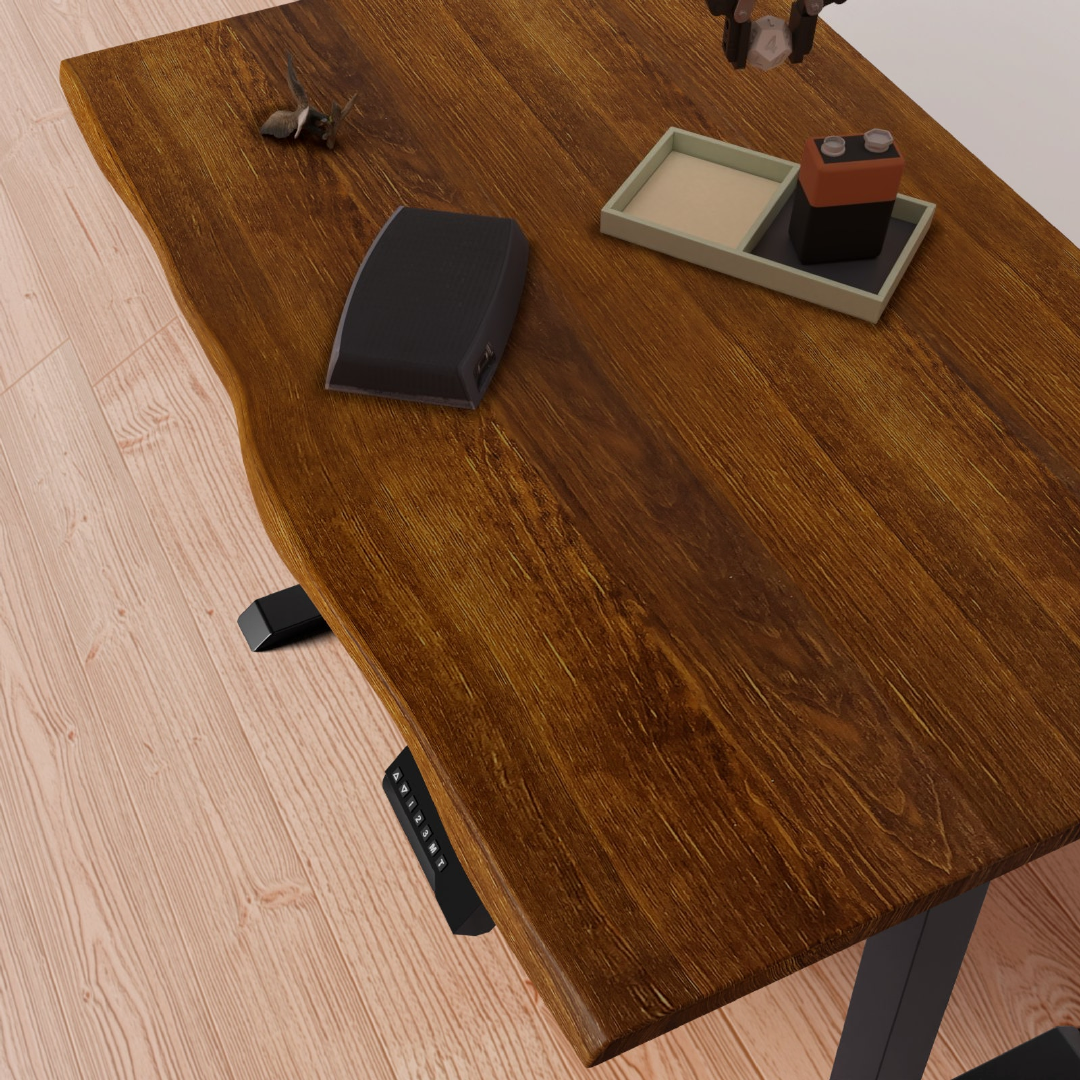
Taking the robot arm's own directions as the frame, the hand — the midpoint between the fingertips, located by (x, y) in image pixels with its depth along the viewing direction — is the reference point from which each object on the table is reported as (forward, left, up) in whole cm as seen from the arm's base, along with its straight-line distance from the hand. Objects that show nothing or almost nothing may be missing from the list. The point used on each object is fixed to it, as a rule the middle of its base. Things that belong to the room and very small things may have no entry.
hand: (765, 59), depth 85 cm
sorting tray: (-2, 0, -16) cm, 16 cm away
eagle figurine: (+35, -21, -16) cm, 44 cm away
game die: (0, 0, 0) cm, 0 cm away
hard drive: (+26, +6, -16) cm, 31 cm away
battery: (-7, +4, -15) cm, 17 cm away
